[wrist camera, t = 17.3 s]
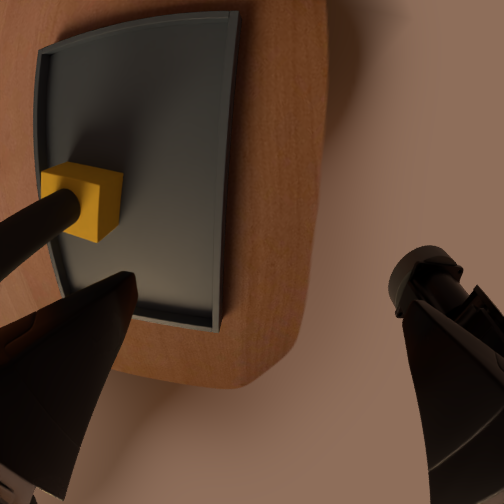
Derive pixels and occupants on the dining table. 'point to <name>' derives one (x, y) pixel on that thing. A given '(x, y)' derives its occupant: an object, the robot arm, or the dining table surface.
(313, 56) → the dining table surface
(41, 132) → the tray
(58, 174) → the sponge wand
